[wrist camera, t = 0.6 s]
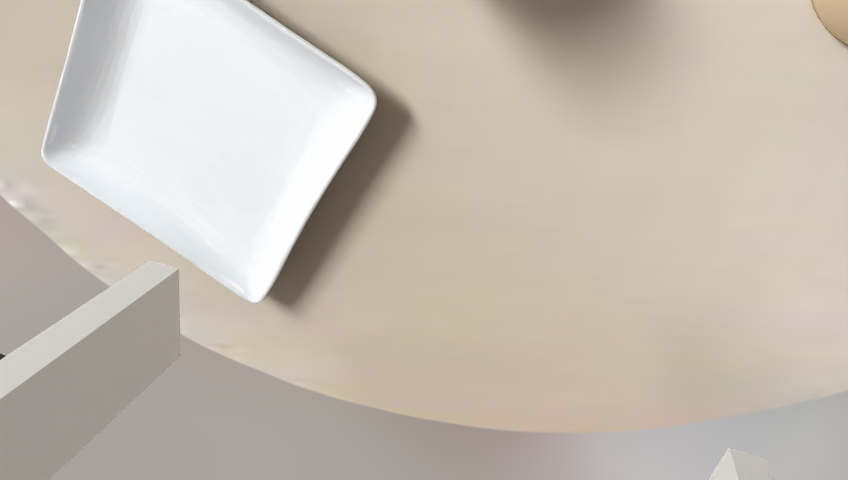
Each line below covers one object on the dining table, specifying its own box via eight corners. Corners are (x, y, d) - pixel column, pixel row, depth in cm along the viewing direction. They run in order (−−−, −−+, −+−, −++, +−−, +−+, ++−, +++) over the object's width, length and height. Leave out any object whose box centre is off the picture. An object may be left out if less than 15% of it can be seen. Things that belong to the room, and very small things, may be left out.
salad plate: (398, 86, 39) (382, 96, 36) (276, 291, 49) (255, 312, 46) (140, -99, 38) (101, -106, 35) (70, 148, 48) (36, 160, 45)
